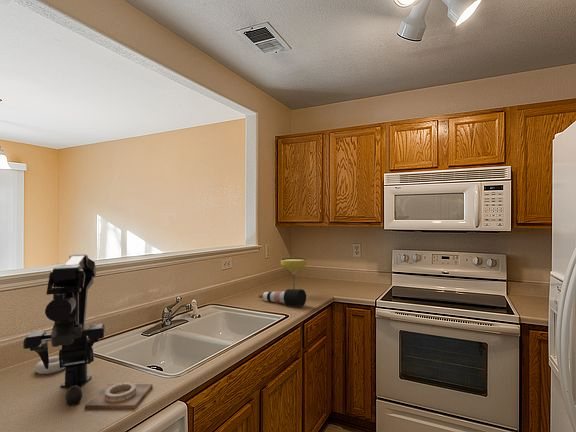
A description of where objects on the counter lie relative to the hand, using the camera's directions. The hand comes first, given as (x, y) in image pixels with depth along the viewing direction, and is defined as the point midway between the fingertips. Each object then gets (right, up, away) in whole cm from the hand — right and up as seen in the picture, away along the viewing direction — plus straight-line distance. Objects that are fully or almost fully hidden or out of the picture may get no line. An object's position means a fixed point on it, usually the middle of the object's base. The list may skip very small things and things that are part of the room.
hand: (66, 365), depth 94 cm
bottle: (+58, -13, +115) cm, 129 cm away
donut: (-21, -12, +24) cm, 34 cm away
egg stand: (+13, -12, +4) cm, 18 cm away
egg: (+1, -12, +1) cm, 12 cm away
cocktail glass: (+67, -13, +137) cm, 153 cm away
